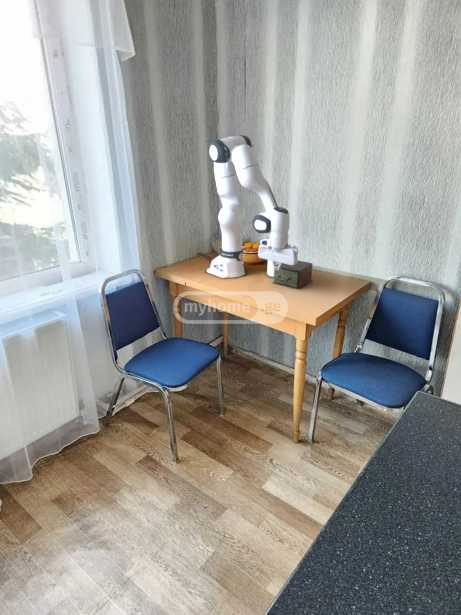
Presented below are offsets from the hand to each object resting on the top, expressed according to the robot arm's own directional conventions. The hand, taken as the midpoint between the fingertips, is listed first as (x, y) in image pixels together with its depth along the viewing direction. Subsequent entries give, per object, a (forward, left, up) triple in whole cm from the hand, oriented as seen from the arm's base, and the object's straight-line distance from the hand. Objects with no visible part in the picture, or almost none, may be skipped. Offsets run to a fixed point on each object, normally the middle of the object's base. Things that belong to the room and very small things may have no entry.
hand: (276, 270), depth 195 cm
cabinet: (0, +17, -11) cm, 21 cm away
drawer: (0, +13, -10) cm, 17 cm away
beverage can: (-13, +20, -12) cm, 27 cm away
